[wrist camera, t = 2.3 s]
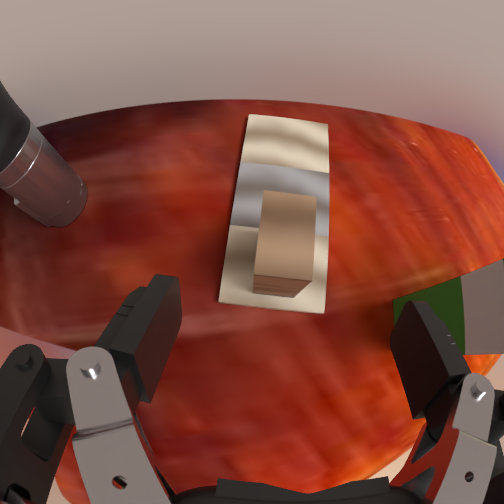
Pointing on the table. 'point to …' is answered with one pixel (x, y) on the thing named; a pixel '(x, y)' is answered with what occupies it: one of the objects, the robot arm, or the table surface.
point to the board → (280, 180)
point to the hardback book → (468, 308)
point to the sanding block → (285, 244)
